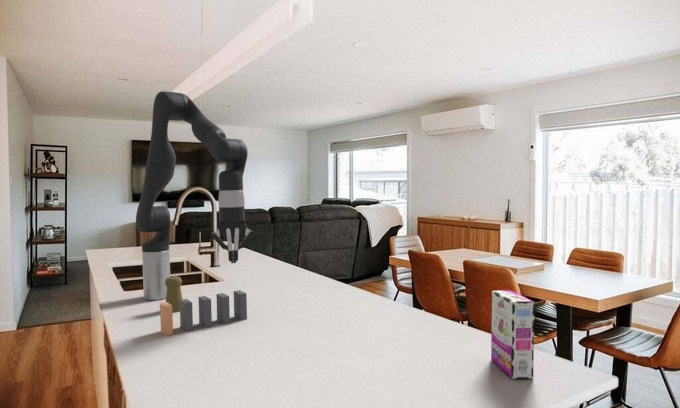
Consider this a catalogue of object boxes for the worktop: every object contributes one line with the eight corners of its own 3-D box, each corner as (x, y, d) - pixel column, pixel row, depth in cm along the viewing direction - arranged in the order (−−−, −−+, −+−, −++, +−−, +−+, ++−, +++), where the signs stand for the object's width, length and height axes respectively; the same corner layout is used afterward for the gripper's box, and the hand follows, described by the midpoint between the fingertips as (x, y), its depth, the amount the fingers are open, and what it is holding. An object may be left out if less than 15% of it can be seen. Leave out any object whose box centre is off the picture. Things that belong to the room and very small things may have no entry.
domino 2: (199, 323, 138) (198, 296, 138) (205, 322, 139) (205, 295, 139) (205, 327, 134) (204, 300, 134) (211, 326, 135) (211, 299, 135)
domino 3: (217, 320, 141) (216, 294, 141) (223, 318, 142) (222, 293, 142) (223, 324, 137) (222, 297, 137) (229, 322, 138) (229, 296, 138)
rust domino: (160, 331, 132) (159, 303, 131) (168, 329, 133) (167, 301, 132) (165, 335, 127) (164, 307, 127) (173, 334, 129) (172, 305, 128)
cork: (177, 313, 149) (176, 279, 149) (160, 312, 151) (159, 278, 150) (187, 307, 155) (186, 275, 155) (171, 307, 156) (170, 274, 156)
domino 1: (180, 327, 135) (179, 299, 134) (187, 325, 136) (186, 298, 136) (185, 331, 131) (185, 303, 130) (192, 330, 132) (192, 302, 131)
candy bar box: (535, 379, 97) (535, 301, 96) (512, 380, 96) (512, 302, 96) (511, 358, 108) (511, 288, 107) (490, 359, 108) (490, 289, 107)
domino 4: (234, 316, 144) (233, 291, 144) (240, 315, 146) (239, 290, 145) (240, 320, 140) (240, 294, 140) (247, 319, 142) (246, 293, 141)
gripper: (208, 206, 135) (210, 266, 135) (254, 205, 138) (256, 263, 139) (209, 205, 142) (211, 262, 143) (253, 204, 145) (254, 259, 146)
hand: (233, 262), depth 141 cm, fingers closed
